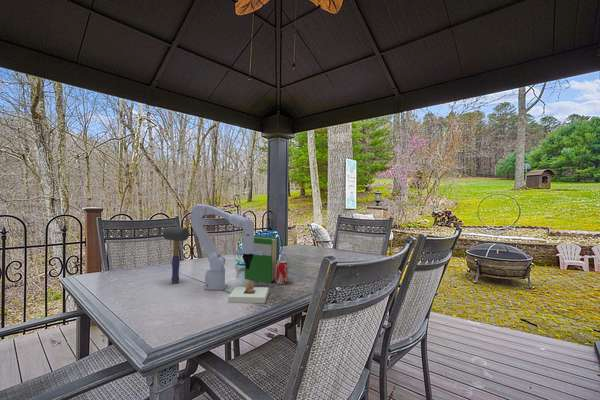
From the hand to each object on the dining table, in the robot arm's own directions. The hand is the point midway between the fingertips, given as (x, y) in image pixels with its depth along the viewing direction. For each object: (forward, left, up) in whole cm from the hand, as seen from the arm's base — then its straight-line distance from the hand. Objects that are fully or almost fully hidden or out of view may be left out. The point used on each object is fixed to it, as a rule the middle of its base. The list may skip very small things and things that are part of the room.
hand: (247, 268), depth 143 cm
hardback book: (+5, +14, -10) cm, 18 cm away
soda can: (+17, +8, -10) cm, 21 cm away
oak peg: (+4, -15, -9) cm, 18 cm away
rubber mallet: (-40, +5, -10) cm, 41 cm away
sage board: (+4, -15, -9) cm, 18 cm away
